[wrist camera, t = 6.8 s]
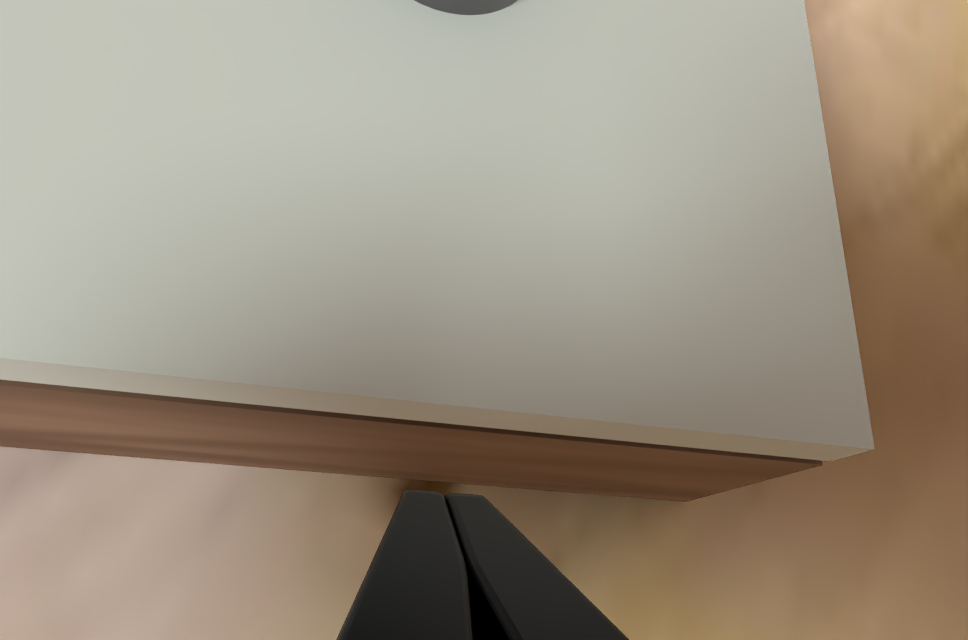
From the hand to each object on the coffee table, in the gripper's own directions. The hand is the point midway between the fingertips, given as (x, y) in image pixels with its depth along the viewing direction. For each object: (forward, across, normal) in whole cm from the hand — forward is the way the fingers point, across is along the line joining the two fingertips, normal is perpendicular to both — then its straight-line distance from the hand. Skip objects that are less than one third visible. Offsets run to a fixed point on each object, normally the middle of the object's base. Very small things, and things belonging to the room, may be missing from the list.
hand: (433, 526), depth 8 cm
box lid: (+8, 0, -5) cm, 9 cm away
